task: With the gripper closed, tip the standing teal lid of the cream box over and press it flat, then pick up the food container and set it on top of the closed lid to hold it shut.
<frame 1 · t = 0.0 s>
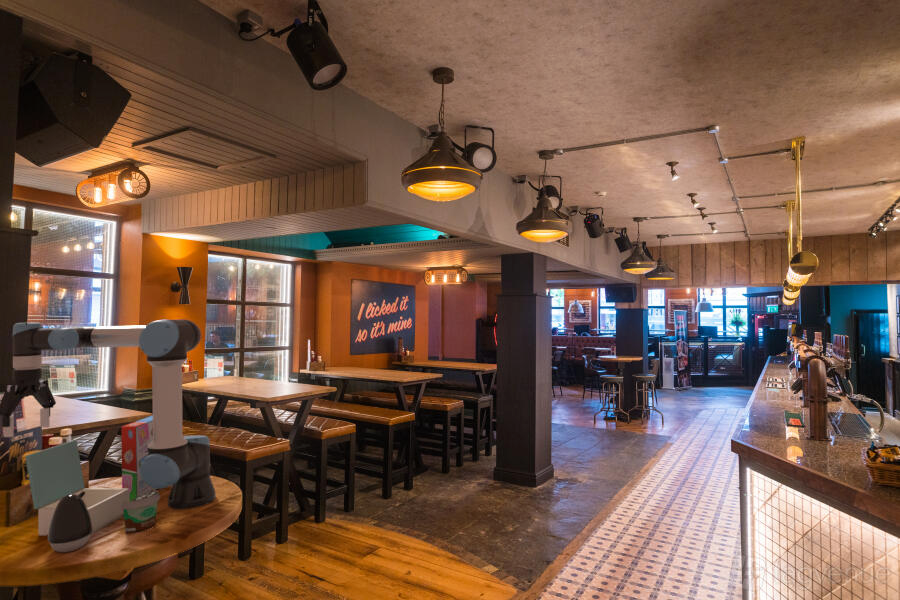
hand: (27, 431, 172), 28 cm above the table, tool pointing down, fingers open, 13 cm apart
food container: (146, 528, 160), on the table
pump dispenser: (70, 548, 147), on the table
cream box: (86, 523, 164), on the table
game box: (146, 493, 192), on the table
box lid: (56, 472, 165), point 16 cm above the table, hinge at 100.0°
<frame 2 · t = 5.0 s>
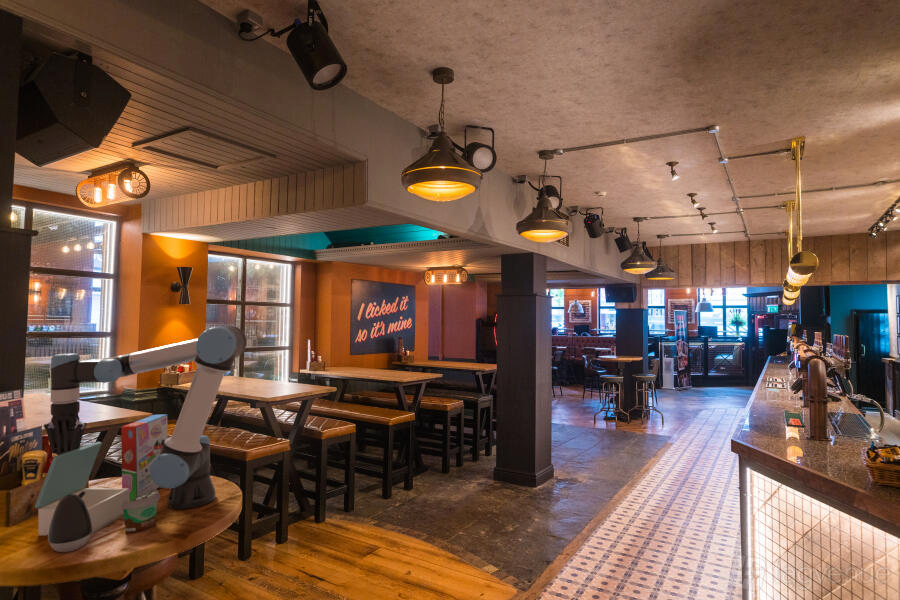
hand: (65, 475, 165), 15 cm above the table, tool pointing down, fingers closed
box lid: (70, 473, 165), point 16 cm above the table, hinge at 67.5°
everything else where it was.
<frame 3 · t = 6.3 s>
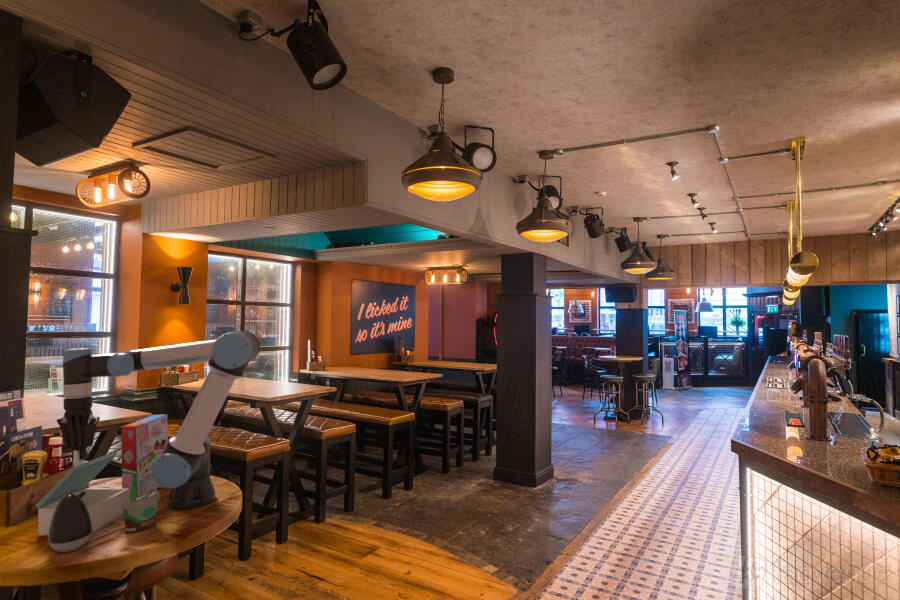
hand: (79, 469, 165), 17 cm above the table, tool pointing down, fingers closed
box lid: (78, 478, 165), point 14 cm above the table, hinge at 44.0°
everything else where it was.
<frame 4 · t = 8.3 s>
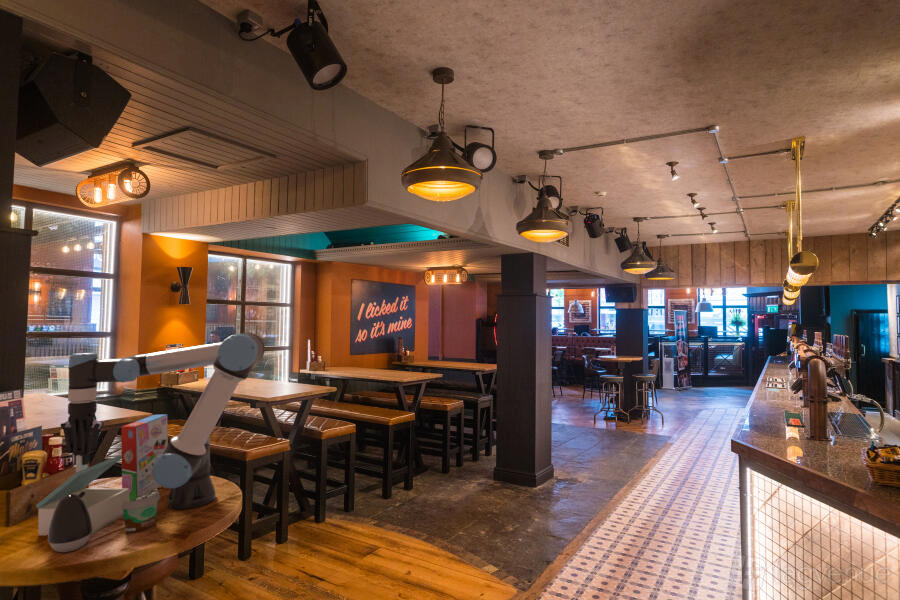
hand: (81, 474, 165), 15 cm above the table, tool pointing down, fingers closed
box lid: (80, 480, 165), point 14 cm above the table, hinge at 37.1°, touching gripper
everything else where it was.
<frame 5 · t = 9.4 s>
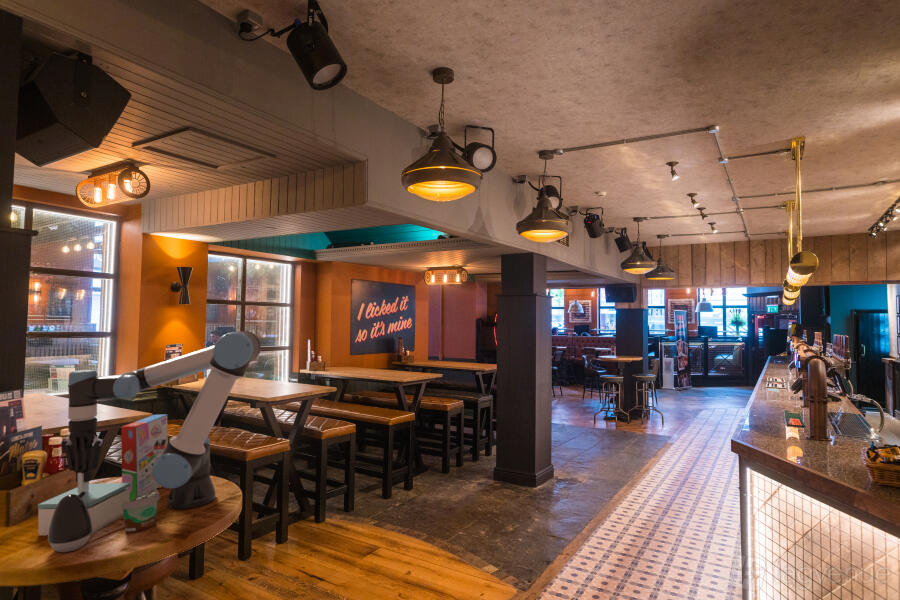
hand: (83, 492, 165), 10 cm above the table, tool pointing down, fingers closed
box lid: (86, 494, 164), point 9 cm above the table, hinge at 1.8°, touching gripper
everything else where it was.
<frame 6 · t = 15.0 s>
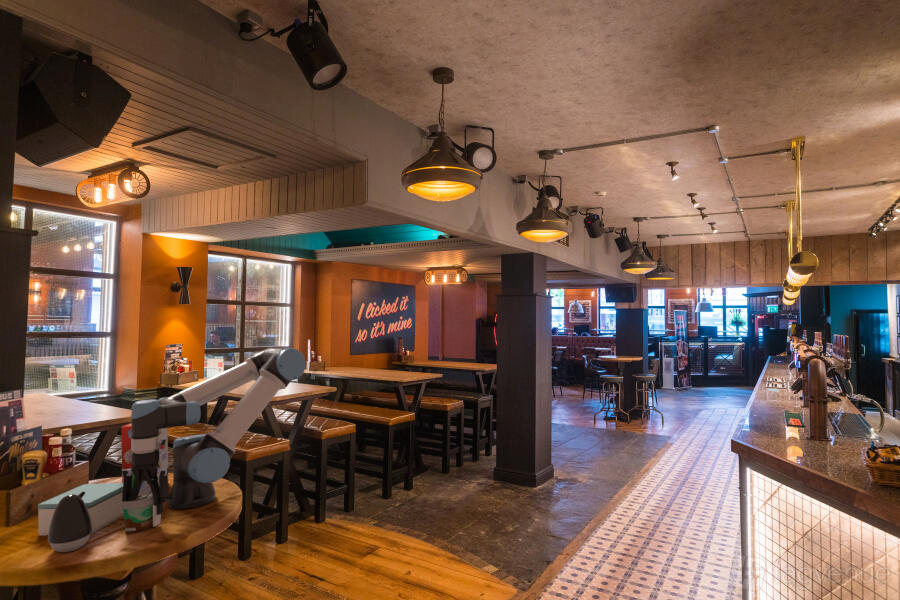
hand: (145, 524, 160), 1 cm above the table, tool pointing down, fingers closed on food container, 6 cm apart
food container: (146, 528, 160), on the table, touching gripper
box lid: (86, 494, 164), point 9 cm above the table, hinge at 1.8°
everything else where it was.
when the fingers open (12 cm above the table, at t = 20.8 s): food container drops 2 cm, resting on box lid.
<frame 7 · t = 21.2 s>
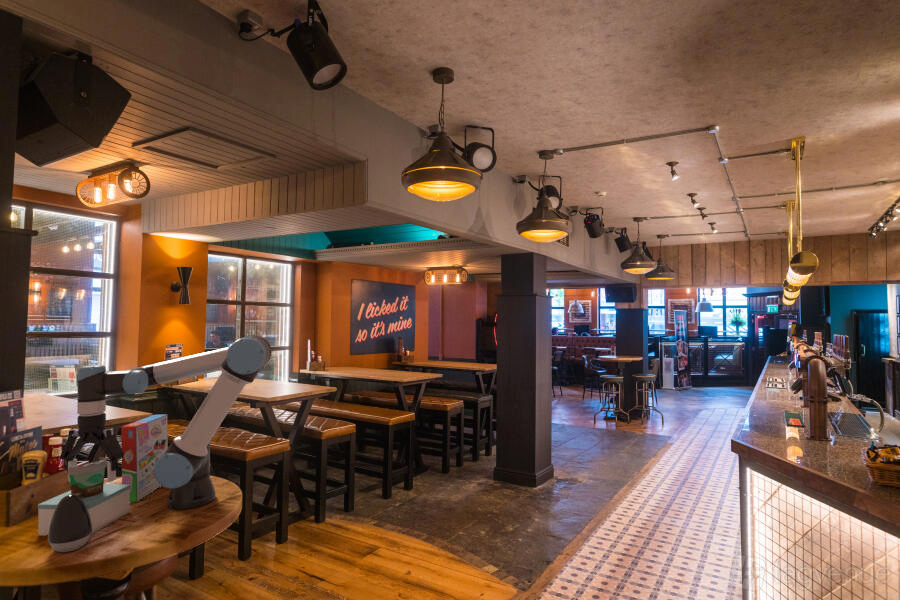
hand: (92, 480, 164), 14 cm above the table, tool pointing down, fingers open, 12 cm apart
food container: (93, 494, 164), point 9 cm above the table, touching box lid
box lid: (86, 495, 164), point 9 cm above the table, hinge at -0.2°, touching food container
everything else where it was.
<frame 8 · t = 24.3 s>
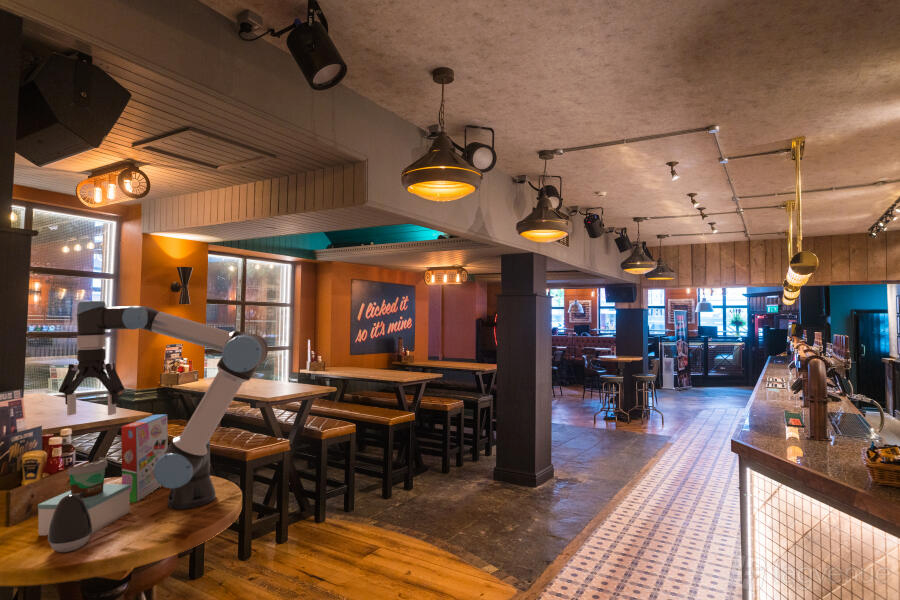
hand: (91, 414, 165), 35 cm above the table, tool pointing down, fingers open, 13 cm apart
nothing on the table moved.
at the end: box lid at +0° (first picture: +100°); food container inside the target area on the cream box (0.9 cm from its centre), point 9.2 cm above the cream box's base; food container tilted 0° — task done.
